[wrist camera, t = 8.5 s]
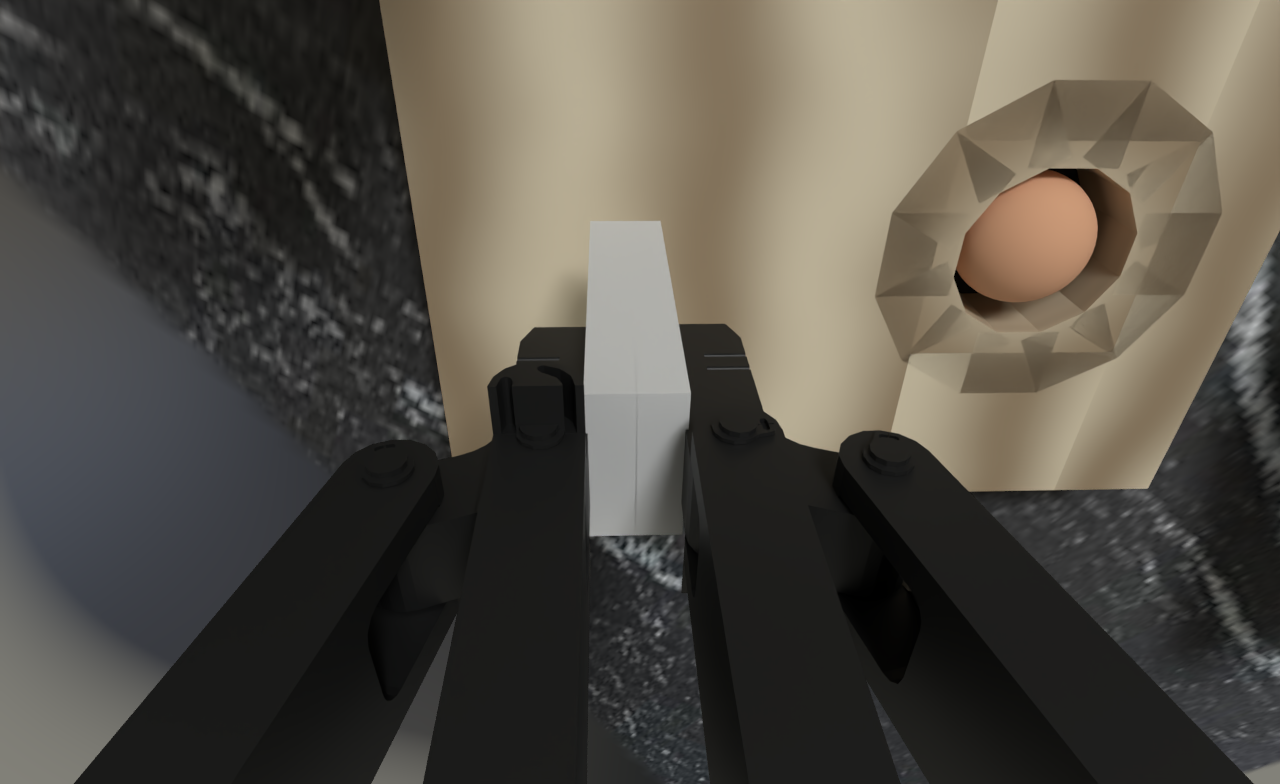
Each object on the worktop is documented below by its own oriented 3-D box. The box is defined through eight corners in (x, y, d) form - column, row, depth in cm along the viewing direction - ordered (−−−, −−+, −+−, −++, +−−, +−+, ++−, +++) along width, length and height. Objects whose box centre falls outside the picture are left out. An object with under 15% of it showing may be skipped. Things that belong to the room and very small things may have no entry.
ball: (941, 159, 20) (1000, 172, 17) (1065, 163, 20) (1147, 177, 17) (919, 282, 22) (970, 316, 18) (1035, 285, 22) (1106, 320, 19)
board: (470, 450, 25) (458, 499, 23) (389, -130, 16) (357, -137, 14) (1103, 442, 26) (1147, 488, 24) (1350, -112, 17) (1455, -115, 15)
